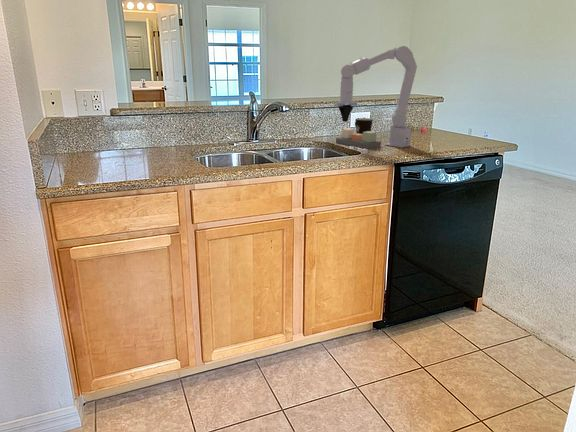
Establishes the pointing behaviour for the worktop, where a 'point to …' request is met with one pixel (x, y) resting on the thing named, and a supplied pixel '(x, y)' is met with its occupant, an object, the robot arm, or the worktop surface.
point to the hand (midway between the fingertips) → (345, 121)
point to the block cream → (347, 133)
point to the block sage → (369, 136)
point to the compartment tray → (358, 143)
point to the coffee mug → (363, 125)
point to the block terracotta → (357, 137)
